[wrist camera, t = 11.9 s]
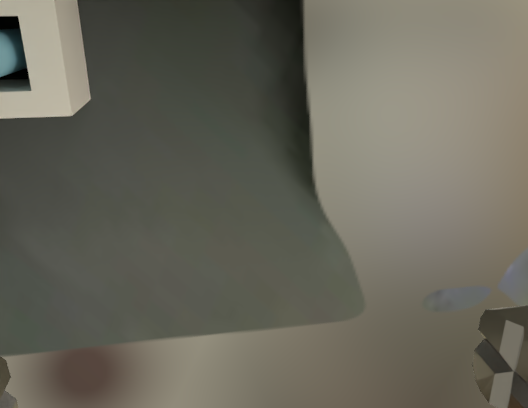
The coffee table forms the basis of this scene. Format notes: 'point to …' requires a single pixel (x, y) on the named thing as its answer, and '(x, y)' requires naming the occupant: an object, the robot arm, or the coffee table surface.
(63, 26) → the white cinder block
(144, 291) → the coffee table surface
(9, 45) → the pin
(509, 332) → the robot arm
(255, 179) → the coffee table surface
